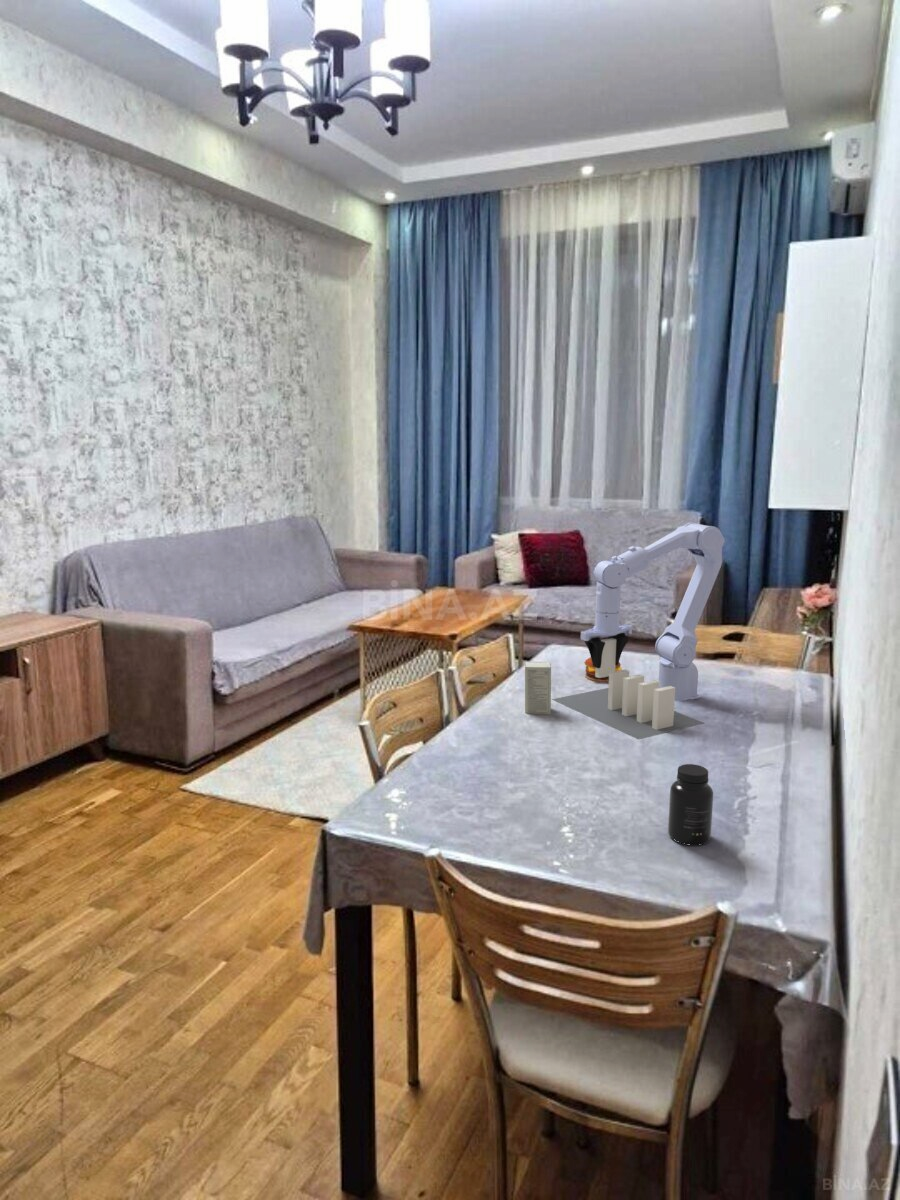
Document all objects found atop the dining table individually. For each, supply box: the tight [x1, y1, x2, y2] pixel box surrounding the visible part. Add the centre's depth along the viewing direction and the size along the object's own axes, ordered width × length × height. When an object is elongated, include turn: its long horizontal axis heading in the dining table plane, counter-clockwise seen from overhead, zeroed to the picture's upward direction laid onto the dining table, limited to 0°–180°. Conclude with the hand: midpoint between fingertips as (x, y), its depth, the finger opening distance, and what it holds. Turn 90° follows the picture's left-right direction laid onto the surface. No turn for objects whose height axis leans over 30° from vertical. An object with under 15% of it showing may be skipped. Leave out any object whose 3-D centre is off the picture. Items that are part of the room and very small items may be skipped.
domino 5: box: [652, 686, 676, 730], centre depth 183 cm, size 2×5×9 cm, turn 120°
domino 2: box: [608, 669, 630, 710], centre depth 196 cm, size 2×5×9 cm, turn 120°
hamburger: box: [583, 656, 623, 683], centre depth 220 cm, size 9×10×7 cm
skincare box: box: [524, 661, 552, 715], centre depth 194 cm, size 6×4×12 cm
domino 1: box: [595, 638, 616, 678], centre depth 199 cm, size 2×5×9 cm, turn 120°
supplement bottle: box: [667, 763, 714, 846], centre depth 134 cm, size 7×7×12 cm
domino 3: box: [622, 674, 645, 716], centre depth 192 cm, size 2×5×9 cm, turn 120°
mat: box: [551, 687, 704, 740], centre depth 195 cm, size 20×31×1 cm, turn 30°
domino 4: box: [637, 679, 659, 723], centre depth 187 cm, size 2×5×9 cm, turn 120°
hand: (605, 665), depth 199 cm, fingers closed on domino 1, 5 cm apart
